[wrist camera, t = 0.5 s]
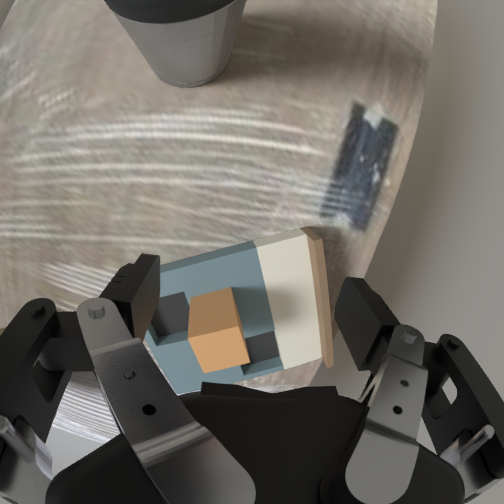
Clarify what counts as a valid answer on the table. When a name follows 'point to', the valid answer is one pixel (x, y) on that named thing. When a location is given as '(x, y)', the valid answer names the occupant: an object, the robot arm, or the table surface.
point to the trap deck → (248, 307)
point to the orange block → (216, 331)
